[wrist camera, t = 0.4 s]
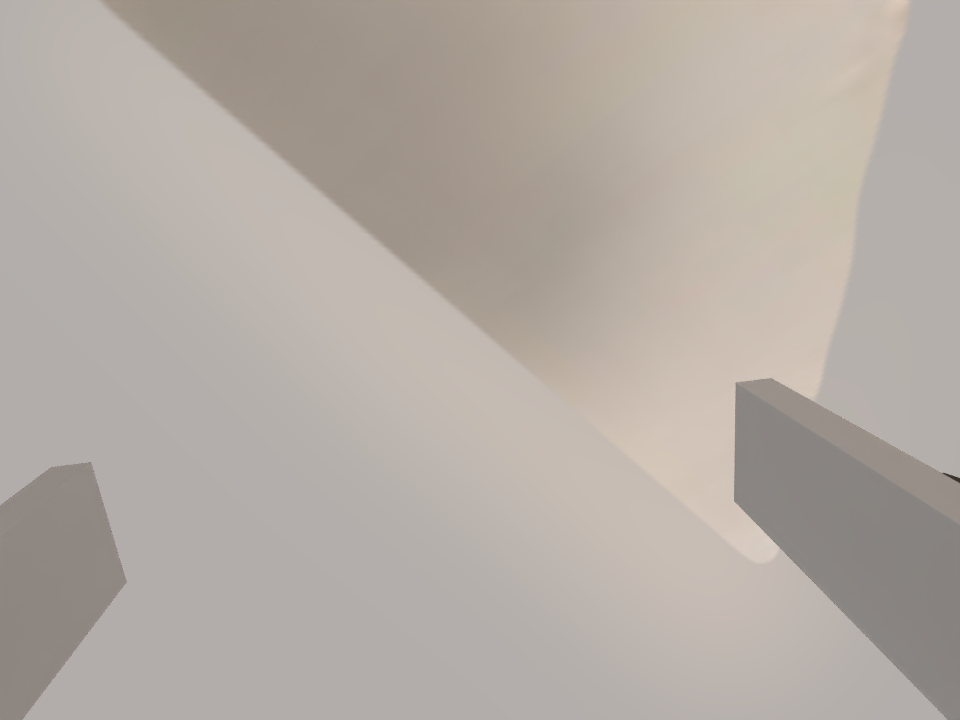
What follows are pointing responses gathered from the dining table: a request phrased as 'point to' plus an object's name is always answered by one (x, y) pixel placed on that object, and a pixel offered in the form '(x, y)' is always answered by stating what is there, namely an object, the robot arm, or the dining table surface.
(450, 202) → the dining table surface
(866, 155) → the dining table surface
